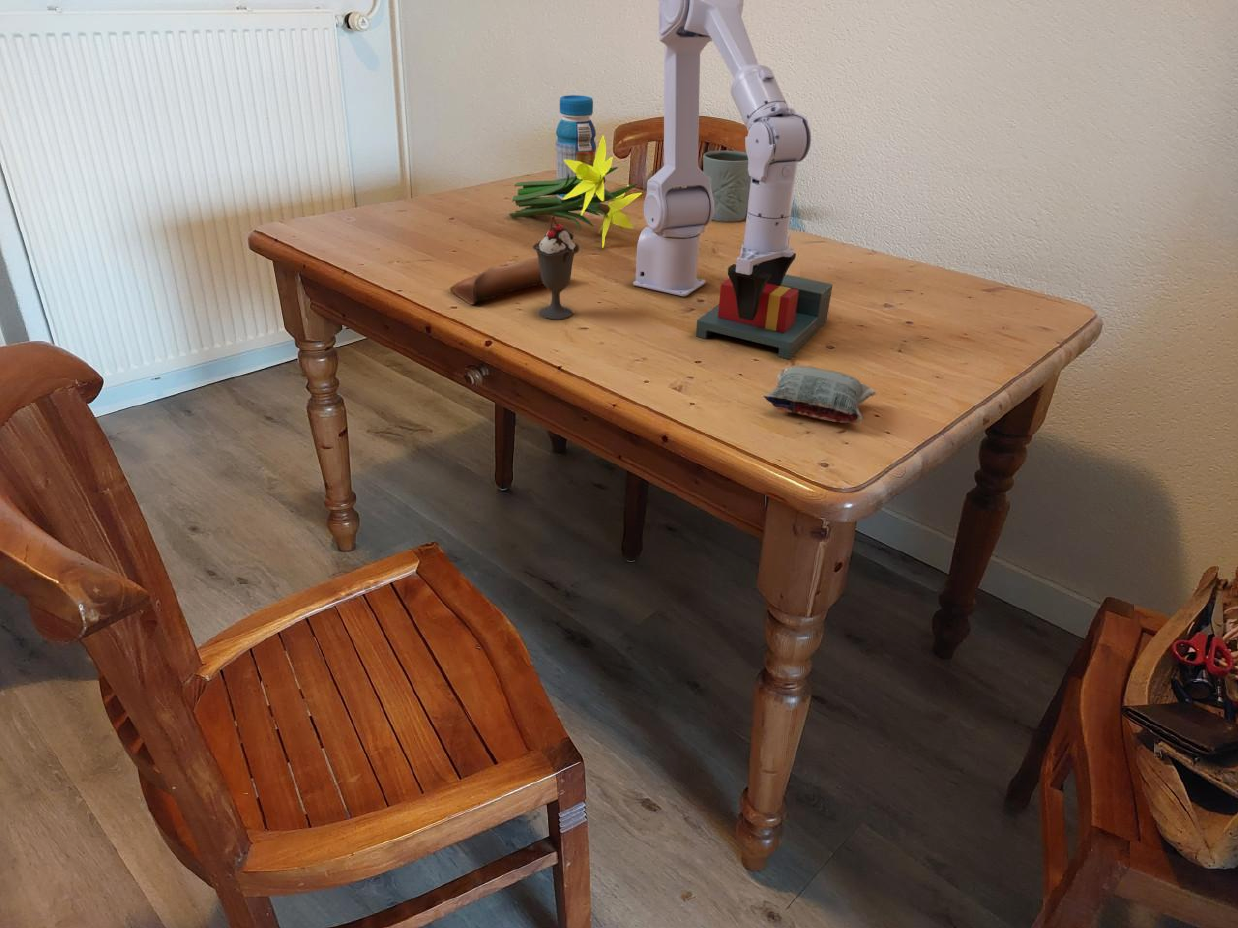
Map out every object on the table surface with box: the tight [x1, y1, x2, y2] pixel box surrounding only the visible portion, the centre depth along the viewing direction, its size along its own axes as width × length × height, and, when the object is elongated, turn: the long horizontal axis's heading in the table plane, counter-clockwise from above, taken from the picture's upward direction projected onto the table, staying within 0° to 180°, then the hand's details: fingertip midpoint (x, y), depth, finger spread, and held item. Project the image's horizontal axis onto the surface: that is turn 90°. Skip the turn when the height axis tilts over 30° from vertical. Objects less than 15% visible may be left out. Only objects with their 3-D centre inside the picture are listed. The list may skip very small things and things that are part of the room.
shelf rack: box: [695, 274, 833, 360], centre depth 125 cm, size 14×16×6 cm
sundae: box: [531, 216, 580, 321], centre depth 125 cm, size 7×7×15 cm
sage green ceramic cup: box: [702, 150, 751, 223], centre depth 175 cm, size 10×10×12 cm
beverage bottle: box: [554, 94, 597, 200], centre depth 181 cm, size 8×8×20 cm
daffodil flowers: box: [508, 134, 643, 249], centre depth 160 cm, size 17×15×35 cm
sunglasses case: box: [450, 257, 544, 306], centre depth 137 cm, size 18×7×7 cm, turn 132°
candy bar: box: [718, 277, 799, 333], centre depth 122 cm, size 10×4×5 cm, turn 60°
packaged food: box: [763, 365, 877, 424], centre depth 104 cm, size 9×12×5 cm
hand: (756, 310), depth 122 cm, fingers open, 7 cm apart
